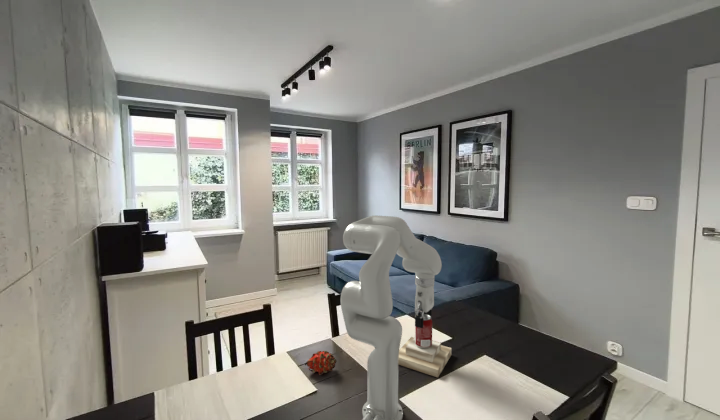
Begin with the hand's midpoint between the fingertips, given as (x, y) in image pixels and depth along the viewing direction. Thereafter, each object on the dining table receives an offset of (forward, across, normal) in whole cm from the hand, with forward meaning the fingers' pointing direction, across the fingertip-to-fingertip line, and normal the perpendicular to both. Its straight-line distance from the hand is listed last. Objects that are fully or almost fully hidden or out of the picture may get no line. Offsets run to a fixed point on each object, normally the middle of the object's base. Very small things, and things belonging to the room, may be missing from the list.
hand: (423, 322), depth 126 cm
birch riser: (+16, +1, 0) cm, 16 cm away
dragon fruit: (+17, -28, +30) cm, 44 cm away
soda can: (+10, +1, 0) cm, 10 cm away
